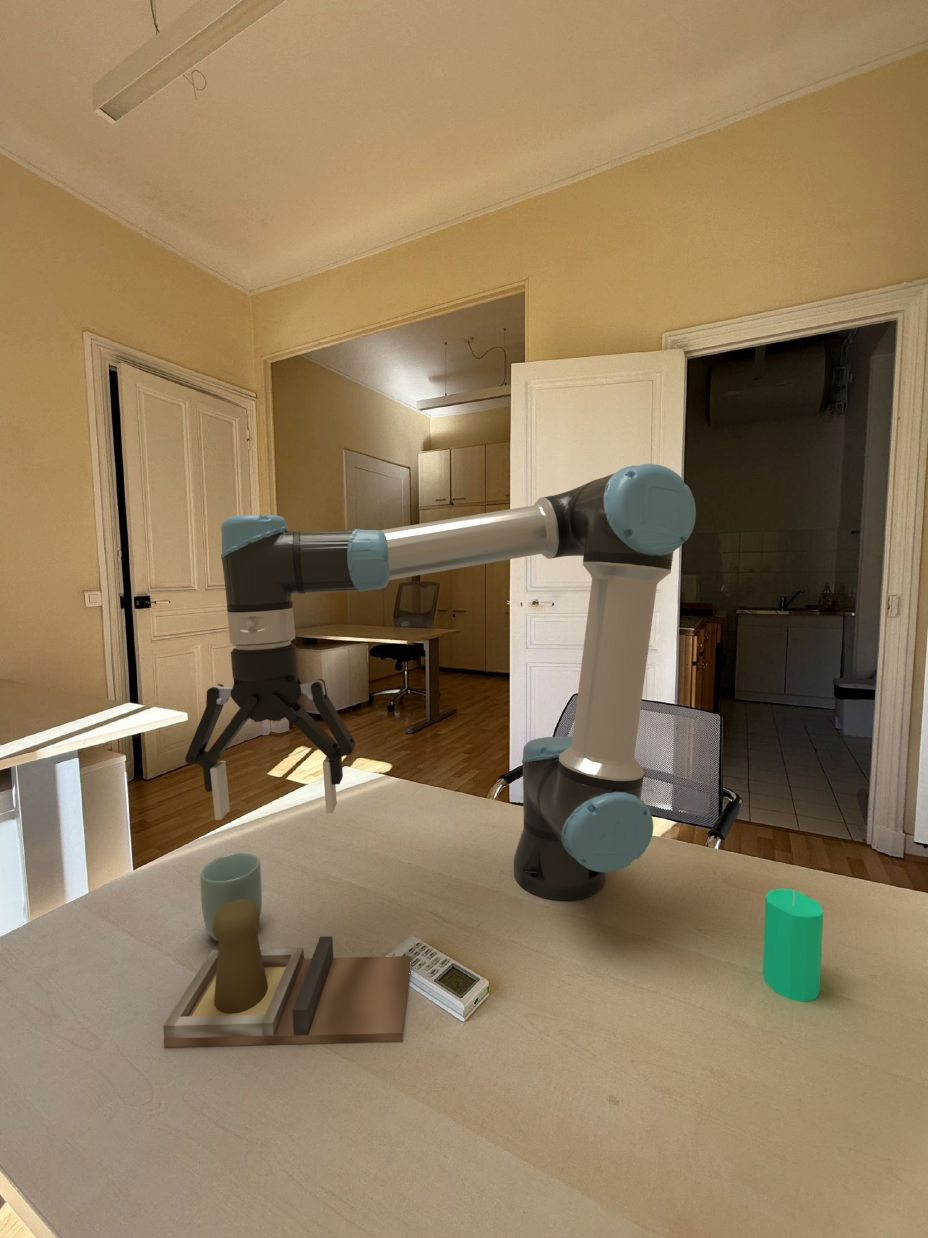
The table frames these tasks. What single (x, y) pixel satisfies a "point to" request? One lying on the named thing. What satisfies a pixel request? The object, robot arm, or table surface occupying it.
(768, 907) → the candle
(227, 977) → the brown game pawn
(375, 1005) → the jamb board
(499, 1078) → the table surface
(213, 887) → the cup
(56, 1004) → the table surface
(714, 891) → the table surface
